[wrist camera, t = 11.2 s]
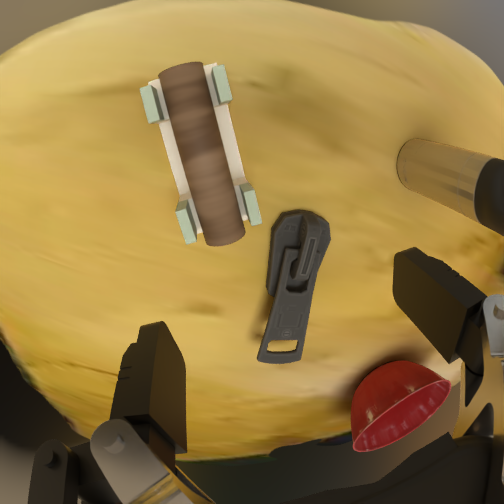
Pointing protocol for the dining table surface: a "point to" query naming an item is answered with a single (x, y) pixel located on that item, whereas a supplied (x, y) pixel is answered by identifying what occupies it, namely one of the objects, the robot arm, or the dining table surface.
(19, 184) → the dining table surface
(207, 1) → the dining table surface
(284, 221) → the zipper pull
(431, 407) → the mixing bowl
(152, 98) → the white cradle stand
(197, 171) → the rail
